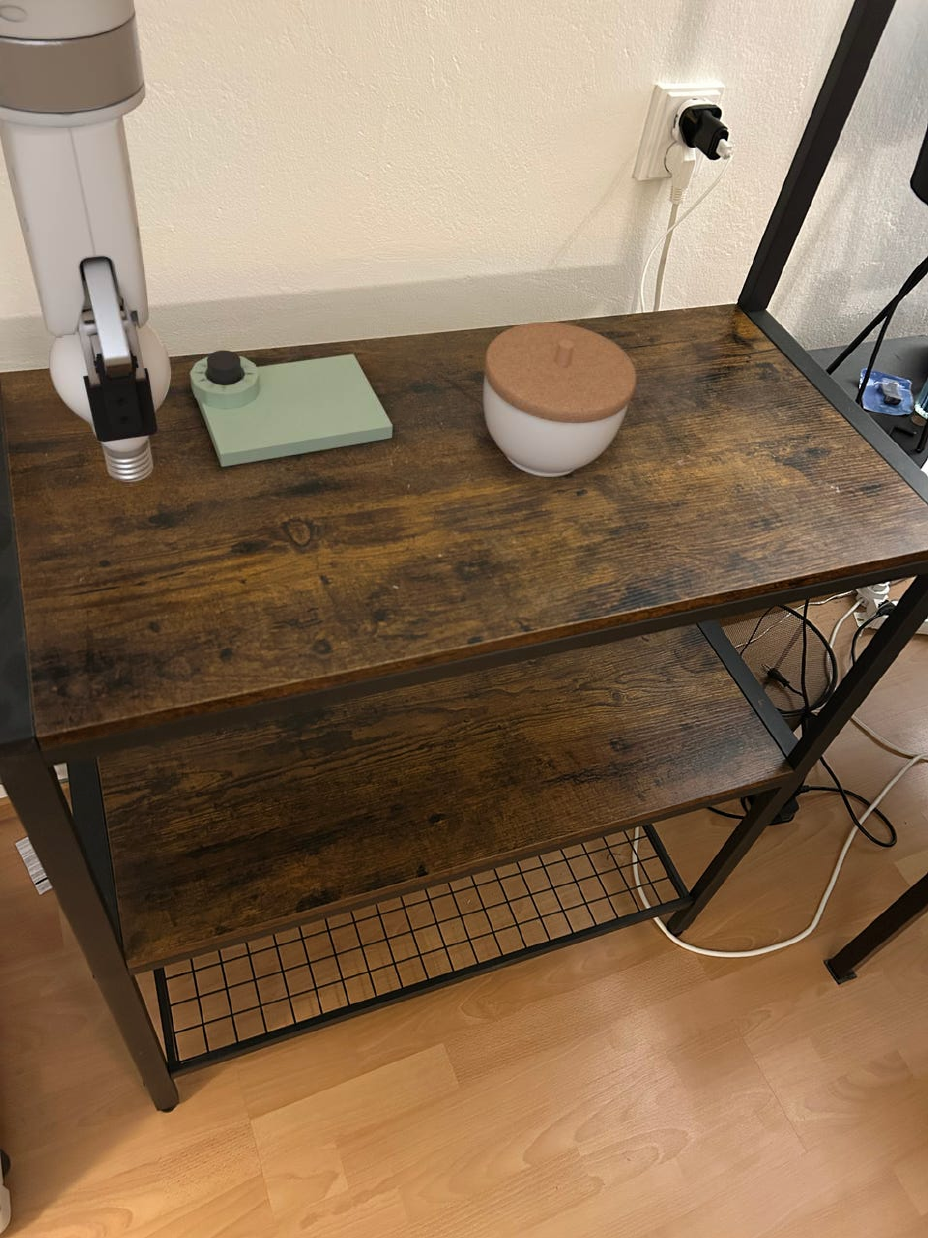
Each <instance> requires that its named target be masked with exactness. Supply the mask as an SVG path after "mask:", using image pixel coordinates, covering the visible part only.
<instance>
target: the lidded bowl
mask: <svg viewBox="0 0 928 1238" xmlns="http://www.w3.org/2000/svg"><path fill="white" fill-rule="evenodd" d="M483 368H484V375H483V385H482V408H483V415H484V421H485V424H486V427H487V430H488V432H489V434H490V437H491V438H492V440H493V442H494V443H495V445H496V446H497V448H499V449H500V451H501V452H502V453H503V454H504V455H505V456H506V457H505V458H507V459H508V461H509V462H510V463H511V464H512V465H513V466H515V467H516V468H518V469H520V470H521V471H523V472H525V473H527V474H530V475H534V476H538V477H546V478H554V477H555V478H556V477H562V476H565V475H569V474H571V473H572V472H575V470H578V469H581V468H582V467H584V466H587V465H588V464H590V463H592V462H593V461H595V459H597V458H598V457H600V456H601V455H602V454H603V453H604V452H605V450H607V448H608V447H609V446H610V445H611V444H612V442H613V440H614V439H615V437H616V435H617V434H618V432H619V430H620V427H621V426H622V424H623V421H624V419H625V416H626V413H627V411H628V409H629V408H628V407H629V403H630V402H631V400H632V398H633V396H634V394H635V390H636V385H637V381H638V379H637V372H636V369H635V365H634V364H633V362H632V360H631V358H630V357H629V356H628V354H627V353H626V352H625V351H624V350H623V349H622V348H621V347H620V346H619V345H617V344H616V343H614V341H612V340H610V339H609V338H607V337H605V336H603V335H602V334H600V333H597V332H595V331H592V330H589V329H587V328H585V327H584V328H583V327H581V326H577V325H573V324H569V323H568V324H567V323H561V322H550V321H540V322H539V321H538V322H537V321H536V322H529V323H525V324H524V323H523V324H519V325H515V326H513V327H511V328H508V329H506V330H504V331H502V332H501V333H500V334H498V335H497V336H496V337H495V338H493V340H491V342H490V343H489V345H488V346H487V349H486V353H485V358H484V367H483Z"/></svg>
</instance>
